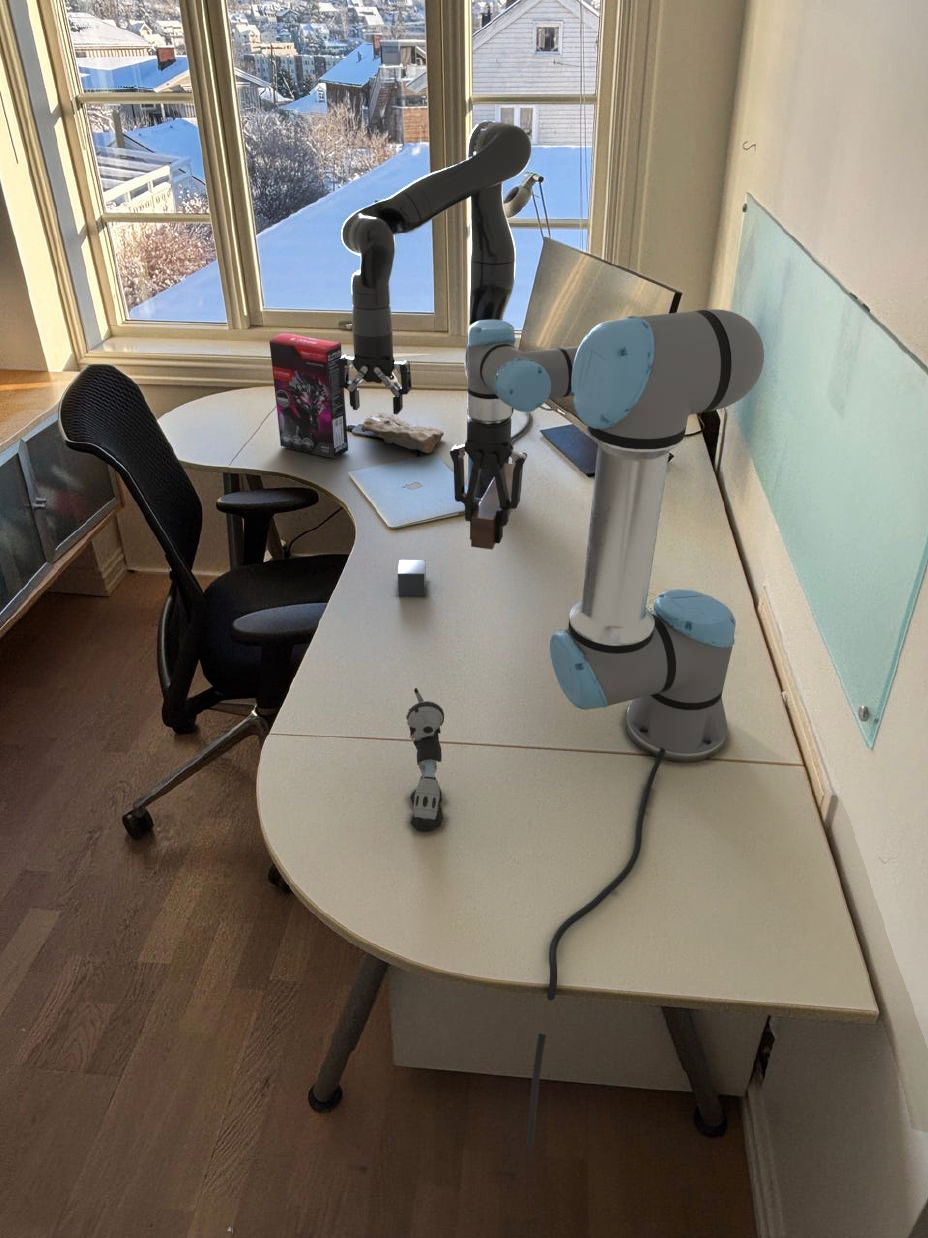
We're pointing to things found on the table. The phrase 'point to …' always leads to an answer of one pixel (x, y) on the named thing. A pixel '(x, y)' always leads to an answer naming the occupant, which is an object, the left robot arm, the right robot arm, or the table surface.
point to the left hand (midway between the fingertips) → (376, 410)
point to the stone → (402, 432)
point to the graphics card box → (309, 394)
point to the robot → (426, 762)
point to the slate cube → (411, 577)
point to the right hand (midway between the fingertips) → (486, 537)
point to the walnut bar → (489, 513)
